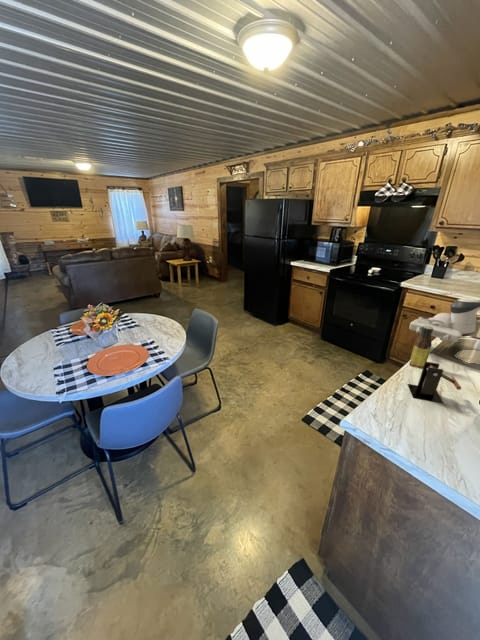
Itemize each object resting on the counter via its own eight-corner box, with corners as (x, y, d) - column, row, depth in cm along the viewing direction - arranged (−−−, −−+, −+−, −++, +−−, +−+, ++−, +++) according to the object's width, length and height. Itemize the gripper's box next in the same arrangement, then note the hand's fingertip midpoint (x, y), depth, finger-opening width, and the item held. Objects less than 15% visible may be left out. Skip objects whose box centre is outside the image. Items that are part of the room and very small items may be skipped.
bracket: (434, 391, 106) (445, 362, 100) (442, 406, 98) (454, 375, 92) (406, 386, 109) (415, 357, 103) (412, 400, 101) (422, 370, 95)
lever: (450, 380, 101) (455, 376, 100) (458, 391, 95) (463, 387, 94) (424, 365, 102) (428, 361, 101) (429, 375, 96) (434, 371, 95)
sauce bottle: (426, 371, 119) (439, 331, 111) (410, 368, 120) (422, 329, 113) (422, 363, 124) (434, 325, 116) (407, 361, 126) (418, 323, 118)
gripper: (460, 339, 126) (454, 349, 118) (413, 326, 140) (404, 334, 131) (465, 328, 124) (459, 337, 115) (416, 315, 138) (407, 323, 129)
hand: (429, 335), depth 123 cm, fingers open, 8 cm apart
